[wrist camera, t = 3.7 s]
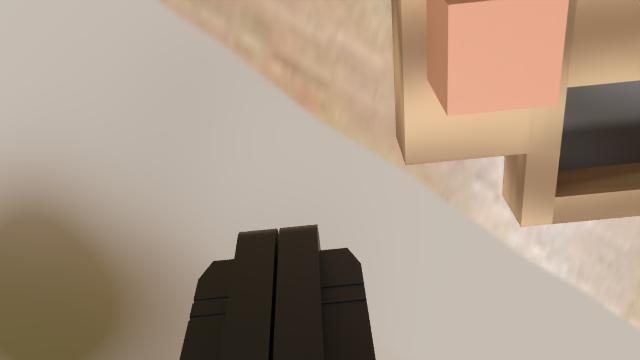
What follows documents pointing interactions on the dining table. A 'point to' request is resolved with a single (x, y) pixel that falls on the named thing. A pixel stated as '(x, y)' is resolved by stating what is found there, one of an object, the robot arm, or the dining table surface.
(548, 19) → the block
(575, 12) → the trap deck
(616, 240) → the dining table surface
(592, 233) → the dining table surface
